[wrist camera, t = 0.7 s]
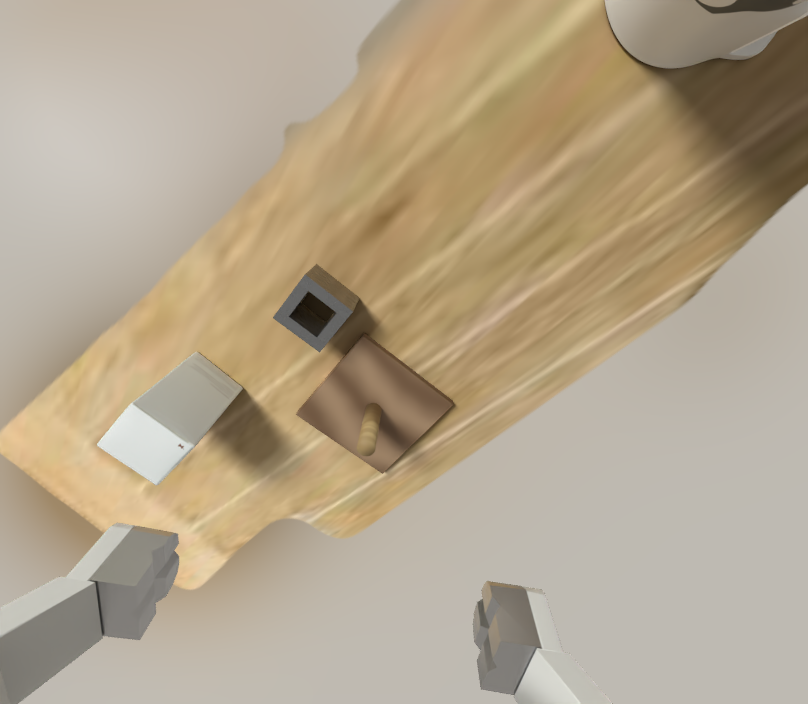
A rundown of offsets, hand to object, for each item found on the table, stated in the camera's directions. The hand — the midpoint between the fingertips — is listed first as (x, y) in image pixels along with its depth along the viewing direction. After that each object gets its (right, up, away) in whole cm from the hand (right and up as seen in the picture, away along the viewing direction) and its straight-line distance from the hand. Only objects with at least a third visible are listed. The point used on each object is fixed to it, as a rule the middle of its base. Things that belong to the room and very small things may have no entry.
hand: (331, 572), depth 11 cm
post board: (-2, -1, +42) cm, 42 cm away
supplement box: (-23, +1, +42) cm, 49 cm away
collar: (-7, +12, +37) cm, 40 cm away
